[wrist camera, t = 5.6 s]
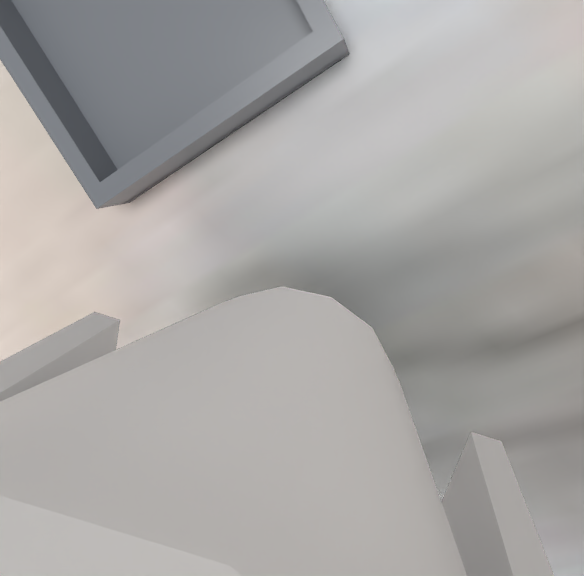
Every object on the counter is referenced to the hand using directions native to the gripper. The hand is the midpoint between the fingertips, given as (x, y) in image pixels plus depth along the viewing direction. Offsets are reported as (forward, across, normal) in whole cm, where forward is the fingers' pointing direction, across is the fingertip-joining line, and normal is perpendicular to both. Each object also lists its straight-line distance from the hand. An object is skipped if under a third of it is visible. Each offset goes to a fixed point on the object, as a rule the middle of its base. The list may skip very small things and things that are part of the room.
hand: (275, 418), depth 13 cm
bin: (+16, +13, -11) cm, 24 cm away
